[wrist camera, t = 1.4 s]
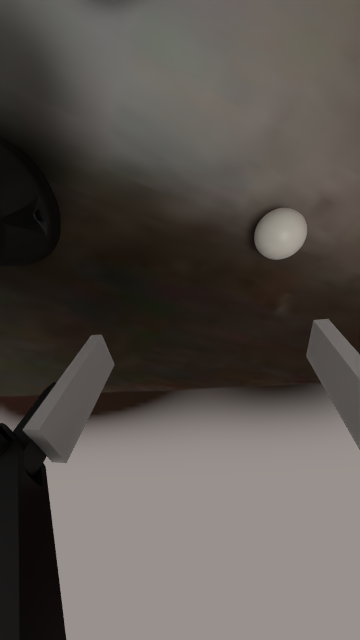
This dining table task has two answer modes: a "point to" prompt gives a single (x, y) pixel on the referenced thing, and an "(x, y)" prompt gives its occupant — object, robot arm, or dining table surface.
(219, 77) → the dining table surface
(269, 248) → the ivory ball
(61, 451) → the robot arm
